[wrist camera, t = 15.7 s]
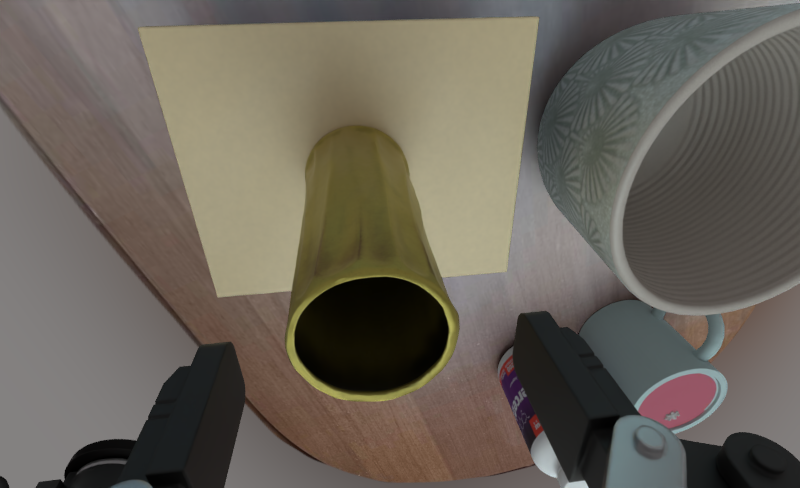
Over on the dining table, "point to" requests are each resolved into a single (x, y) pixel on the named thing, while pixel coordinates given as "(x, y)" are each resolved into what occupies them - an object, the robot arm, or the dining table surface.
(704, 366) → the mug
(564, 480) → the pill bottle
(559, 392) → the robot arm
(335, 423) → the dining table surface
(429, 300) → the vase
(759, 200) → the planter
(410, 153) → the box
